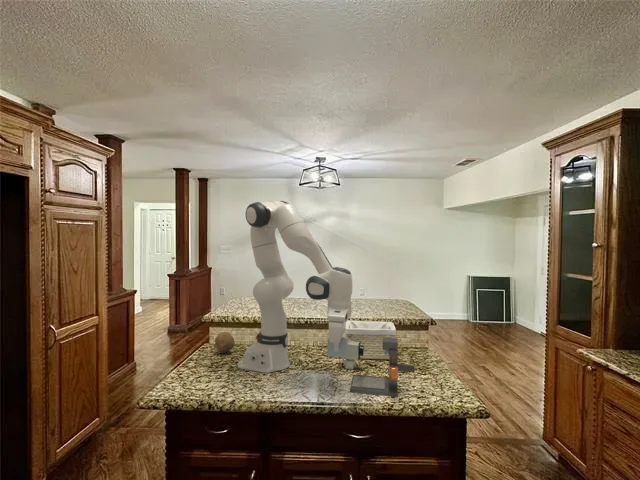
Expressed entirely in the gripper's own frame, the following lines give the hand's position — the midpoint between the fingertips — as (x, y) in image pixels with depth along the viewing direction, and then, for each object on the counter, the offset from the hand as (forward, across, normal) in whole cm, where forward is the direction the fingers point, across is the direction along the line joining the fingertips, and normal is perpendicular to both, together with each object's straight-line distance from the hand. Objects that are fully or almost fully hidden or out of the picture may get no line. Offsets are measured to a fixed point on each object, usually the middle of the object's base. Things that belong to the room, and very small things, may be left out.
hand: (337, 348), depth 133 cm
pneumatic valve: (+15, -22, +3) cm, 27 cm away
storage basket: (+15, -42, +11) cm, 46 cm away
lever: (+7, +3, +21) cm, 22 cm away
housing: (+2, 0, 0) cm, 2 cm away
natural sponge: (+18, -29, -58) cm, 67 cm away
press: (+14, -4, +17) cm, 23 cm away
